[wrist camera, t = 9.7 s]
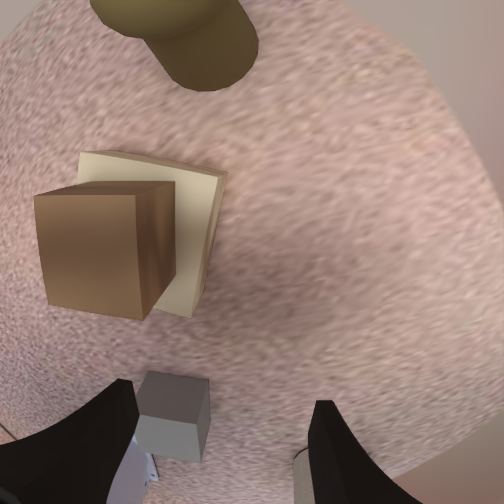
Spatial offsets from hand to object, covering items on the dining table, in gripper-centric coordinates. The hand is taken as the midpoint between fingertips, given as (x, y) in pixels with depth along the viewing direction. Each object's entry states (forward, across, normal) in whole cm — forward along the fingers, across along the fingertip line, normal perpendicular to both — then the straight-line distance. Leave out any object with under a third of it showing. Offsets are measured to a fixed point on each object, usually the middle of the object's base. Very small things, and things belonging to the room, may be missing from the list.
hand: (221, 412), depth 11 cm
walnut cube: (+7, +6, -5) cm, 10 cm away
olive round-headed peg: (+11, +3, -16) cm, 19 cm away
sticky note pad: (+11, +6, -5) cm, 13 cm away
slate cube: (+10, +5, +10) cm, 15 cm away
